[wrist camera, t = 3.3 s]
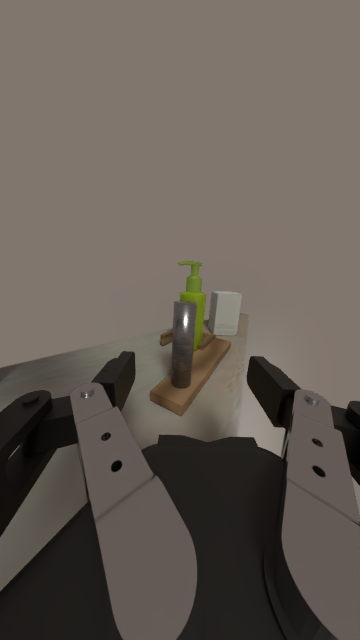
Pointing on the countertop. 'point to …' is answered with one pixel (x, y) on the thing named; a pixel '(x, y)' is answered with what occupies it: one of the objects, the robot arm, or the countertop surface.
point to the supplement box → (224, 313)
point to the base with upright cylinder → (187, 360)
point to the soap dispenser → (195, 298)
